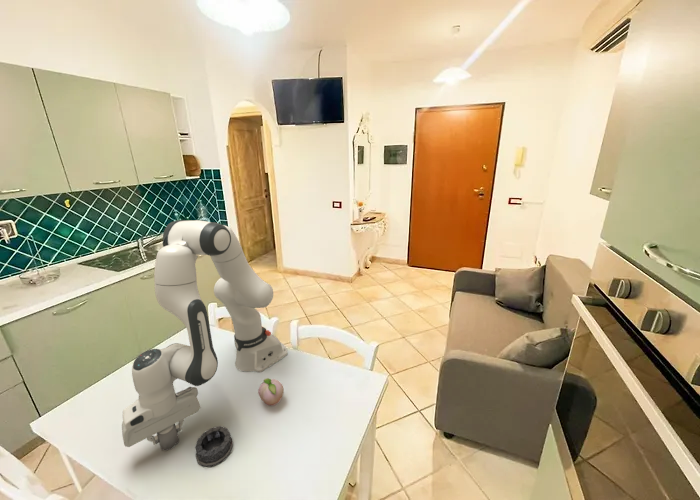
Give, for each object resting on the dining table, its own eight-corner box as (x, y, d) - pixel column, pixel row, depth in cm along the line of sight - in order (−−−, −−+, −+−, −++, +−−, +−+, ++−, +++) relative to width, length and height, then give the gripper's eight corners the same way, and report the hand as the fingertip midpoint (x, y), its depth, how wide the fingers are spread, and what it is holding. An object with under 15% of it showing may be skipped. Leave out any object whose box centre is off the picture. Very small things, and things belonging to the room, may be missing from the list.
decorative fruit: (289, 402, 108) (287, 380, 105) (270, 416, 102) (267, 393, 99) (275, 389, 114) (273, 368, 111) (256, 402, 108) (253, 379, 105)
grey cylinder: (176, 432, 96) (173, 417, 94) (180, 443, 93) (176, 428, 91) (159, 442, 93) (154, 427, 91) (162, 453, 90) (158, 438, 88)
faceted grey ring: (226, 428, 98) (224, 419, 96) (238, 451, 90) (236, 441, 89) (192, 448, 91) (189, 438, 90) (202, 474, 84) (199, 464, 82)
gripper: (193, 378, 97) (200, 411, 101) (115, 413, 84) (127, 449, 88) (199, 389, 92) (206, 423, 96) (117, 428, 79) (130, 465, 84)
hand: (168, 436), depth 92 cm, fingers closed on grey cylinder, 5 cm apart
